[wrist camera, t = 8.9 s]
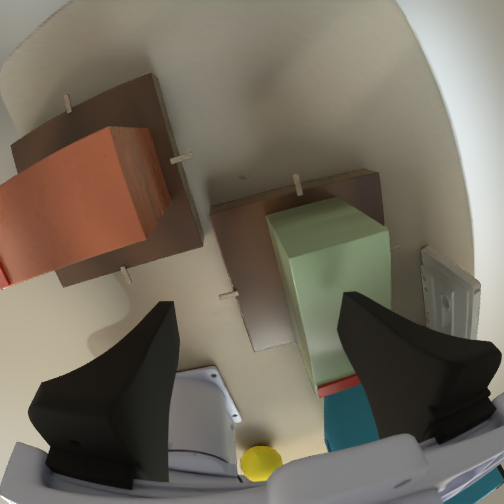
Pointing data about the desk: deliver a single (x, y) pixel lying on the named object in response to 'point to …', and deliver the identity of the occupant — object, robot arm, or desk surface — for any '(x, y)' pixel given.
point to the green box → (328, 279)
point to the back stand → (262, 251)
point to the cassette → (449, 296)
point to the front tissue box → (80, 203)
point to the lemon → (260, 463)
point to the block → (365, 431)
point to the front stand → (156, 119)
